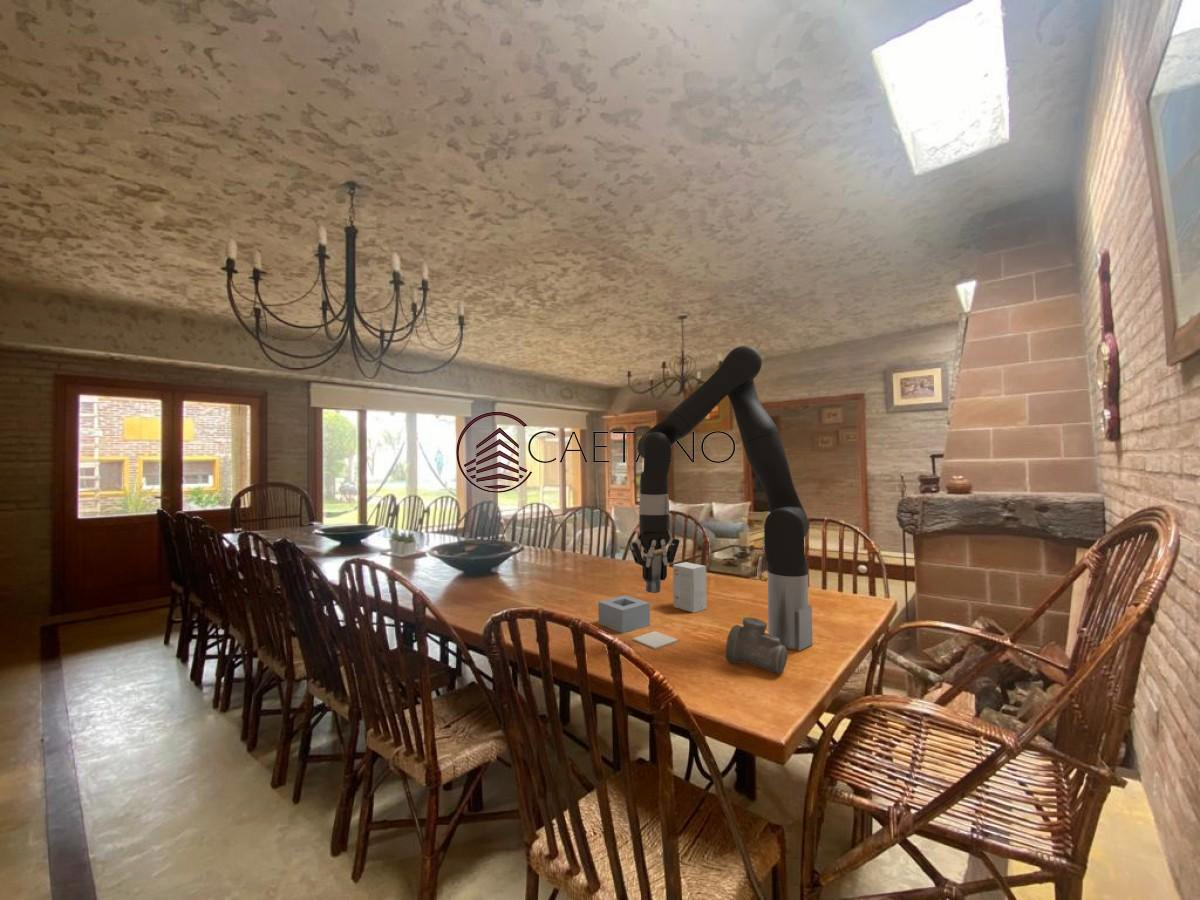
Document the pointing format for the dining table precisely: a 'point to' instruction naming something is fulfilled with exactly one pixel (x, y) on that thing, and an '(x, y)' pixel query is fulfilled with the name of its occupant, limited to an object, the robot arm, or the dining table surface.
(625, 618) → the block
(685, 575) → the small box
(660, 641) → the coaster
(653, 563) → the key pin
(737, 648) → the pipe fitting
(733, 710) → the dining table surface
